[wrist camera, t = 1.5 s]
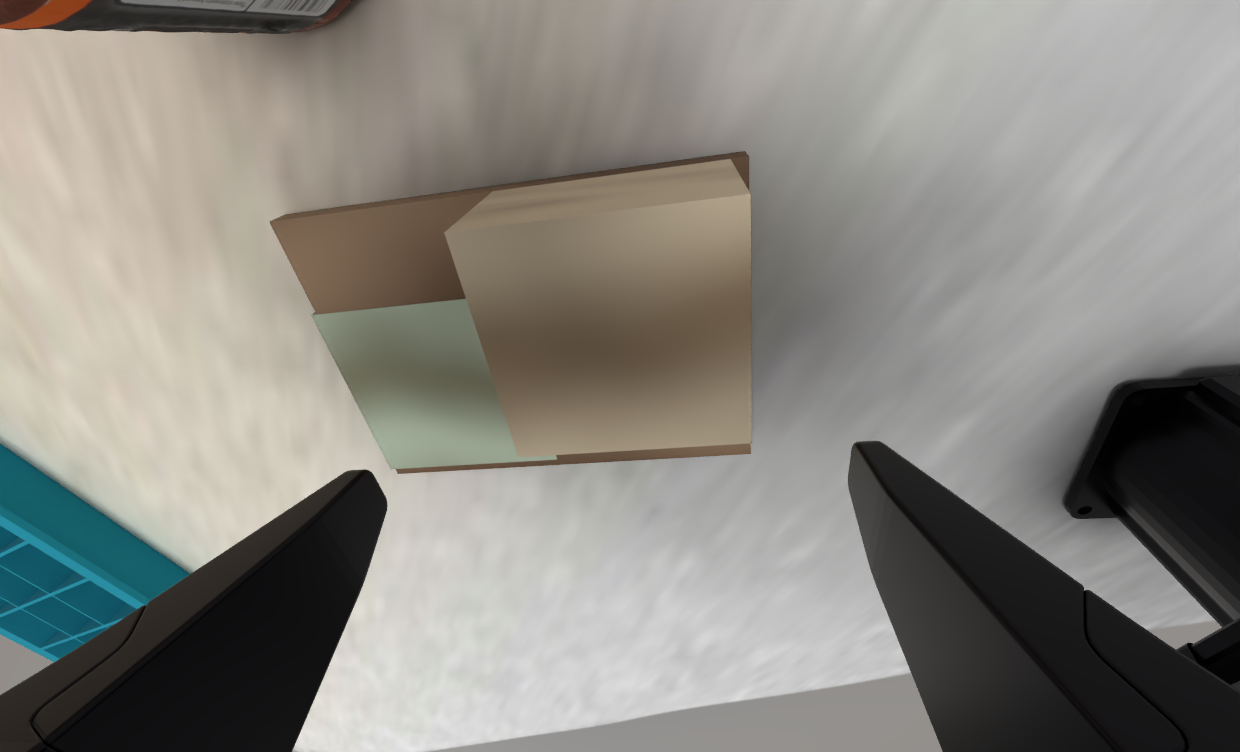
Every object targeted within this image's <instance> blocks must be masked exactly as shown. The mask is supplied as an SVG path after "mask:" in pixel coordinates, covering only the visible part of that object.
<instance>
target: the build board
mask: <svg viewBox="0 0 1240 752" xmlns="http://www.w3.org/2000/svg"><path fill="white" fill-rule="evenodd" d="M726 159H731V161H732V162H733V164H734V166H735V168H736V169H737V171H738V173H739V175H740V176H741V178H742V180H743V182H744V183H745V185H746V187H747V188H748V190H749V156H748V155H747V153H746V152H745V151H744V152H737V153H730V154H722V155H715V156H708V157H701V158H693V159H686V160H679V161H672V162H664V163H657V164H650V165H643V166H635V167H628V168H621V169H614V170H606V171H599V172H592V173H585V174H577V175H570V176H563V177H556V178H548V179H541V180H534V181H527V182H519V183H512V184H505V185H498V186H490V187H483V188H476V189H468V190H461V191H454V192H447V193H439V194H432V195H425V196H418V197H410V198H403V199H396V200H389V201H381V202H374V203H367V204H360V205H352V206H345V207H338V208H331V209H323V210H316V211H309V212H302V213H294V214H287V215H283V216H281V217H279V218H277V219H274V220H272V221H270V224H271V226H272V228H273V230H274V232H275V234H276V236H277V238H278V240H279V242H280V244H281V246H282V248H283V249H284V251H285V253H286V255H287V257H288V259H289V261H290V263H291V265H292V267H293V269H294V271H295V273H296V275H297V277H298V279H299V281H300V283H301V285H302V287H303V289H304V291H305V293H306V295H307V296H308V298H309V300H310V302H311V304H312V306H313V308H314V310H315V313H314V314H312V315H311V316H312V318H313V320H314V322H315V323H316V325H317V327H318V329H319V331H320V333H321V335H322V337H323V339H324V341H325V343H326V345H327V347H328V349H329V351H330V352H331V354H332V356H333V358H334V360H335V362H336V364H337V366H338V368H339V370H340V372H341V374H342V376H343V378H344V380H345V381H346V383H347V385H348V387H349V389H350V391H351V393H352V395H353V397H354V399H355V401H356V403H357V405H358V407H359V409H360V410H361V412H362V414H363V416H364V418H365V420H366V422H367V424H368V426H369V428H370V430H371V432H372V434H373V436H374V438H375V439H376V441H377V443H378V445H379V447H380V449H381V451H382V453H383V455H384V457H385V459H386V461H387V463H388V465H389V467H390V468H391V469H396V471H397V473H398V474H403V473H420V472H438V471H456V470H473V469H491V468H508V467H526V466H544V465H561V464H579V463H596V462H614V461H631V460H649V459H667V458H684V457H702V456H719V455H737V454H751V443H750V444H733V445H716V446H699V447H683V448H666V449H649V450H632V451H615V452H599V453H582V454H565V455H548V456H532V457H518V454H517V451H516V448H515V445H514V442H513V439H512V436H511V433H510V430H509V427H508V424H507V421H506V418H505V415H504V412H503V409H502V406H501V403H500V400H499V397H498V394H497V391H496V388H495V385H494V382H493V379H492V376H491V373H490V370H489V367H488V364H487V361H486V358H485V355H484V352H483V348H482V345H481V342H480V339H479V336H478V333H477V330H476V327H475V324H474V321H473V318H472V315H471V312H470V309H469V306H468V303H467V300H466V297H465V294H464V291H463V288H462V285H461V282H460V279H459V276H458V273H457V270H456V267H455V264H454V261H453V258H452V255H451V252H450V249H449V246H448V243H447V240H446V237H445V234H444V232H445V231H447V230H448V229H449V228H450V227H451V226H452V225H454V224H455V223H456V222H457V221H458V220H459V219H461V218H462V217H463V216H464V215H465V214H467V213H468V212H469V211H470V210H471V209H472V208H474V207H475V206H476V205H477V204H478V203H479V202H481V201H482V200H483V199H484V198H485V197H487V196H488V195H489V194H490V193H491V192H492V191H499V190H506V189H513V188H521V187H528V186H535V185H543V184H550V183H557V182H565V181H572V180H579V179H587V178H594V177H601V176H609V175H616V174H623V173H631V172H638V171H645V170H653V169H660V168H667V167H675V166H682V165H689V164H697V163H704V162H711V161H719V160H726Z"/></svg>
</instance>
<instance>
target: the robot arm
mask: <svg viewBox="0 0 1240 752" xmlns="http://www.w3.org/2000/svg"><path fill="white" fill-rule="evenodd" d="M848 486H849V492H850V495H851V499H852V503H853V506H854V510H855V514H856V518H857V521H858V525H859V529H860V533H861V536H862V540H863V544H864V547H865V551H866V555H867V559H868V562H869V565H870V569H871V572H872V575H873V578H874V580H875V583H876V586H877V588H878V591H879V593H880V596H881V598H882V601H883V603H884V606H885V608H886V611H887V613H888V616H889V618H890V621H891V623H892V626H893V628H894V631H895V633H896V636H897V638H898V641H899V643H900V646H901V648H902V651H903V653H904V656H905V658H906V661H907V663H908V666H909V668H910V671H911V673H912V676H913V678H914V680H915V683H916V686H917V688H918V691H919V693H920V696H921V698H922V701H923V703H924V706H925V708H926V711H927V713H928V716H929V718H930V721H931V723H932V725H933V728H934V731H935V733H936V736H937V738H938V741H939V743H940V745H941V748H942V751H943V752H1240V375H1230V376H1215V377H1206V378H1192V379H1177V380H1163V381H1148V382H1135V383H1130V384H1128V385H1125V386H1123V387H1122V388H1121V389H1119V390H1118V391H1117V392H1116V394H1115V395H1114V397H1113V400H1112V402H1111V404H1110V406H1109V408H1108V411H1107V413H1106V415H1105V417H1104V419H1103V421H1102V424H1101V426H1100V428H1099V430H1098V432H1097V434H1096V437H1095V439H1094V441H1093V443H1092V445H1091V447H1090V450H1089V452H1088V454H1087V456H1086V458H1085V460H1084V463H1083V465H1082V467H1081V469H1080V471H1079V473H1078V476H1077V478H1076V480H1075V482H1074V484H1073V487H1072V489H1071V491H1070V493H1069V495H1068V497H1067V500H1066V502H1065V505H1064V507H1065V509H1066V510H1067V511H1068V512H1069V514H1070V515H1071V516H1072V517H1074V518H1077V519H1090V518H1118V519H1119V520H1120V521H1121V522H1122V523H1123V524H1124V525H1125V526H1126V527H1127V528H1128V529H1129V530H1130V531H1131V532H1132V533H1133V535H1134V536H1135V537H1136V538H1137V539H1138V540H1139V541H1140V542H1141V543H1142V544H1143V545H1144V546H1145V547H1146V548H1147V549H1148V550H1149V551H1150V552H1151V553H1152V554H1153V555H1154V556H1155V558H1156V559H1157V560H1158V561H1159V562H1160V563H1161V564H1162V565H1163V566H1164V567H1165V568H1166V569H1167V570H1168V571H1169V572H1170V573H1171V574H1172V575H1173V576H1174V577H1175V578H1176V579H1177V580H1178V582H1179V583H1180V584H1181V585H1182V586H1183V587H1184V588H1185V589H1186V590H1187V591H1188V592H1189V593H1190V594H1191V595H1192V596H1193V597H1194V598H1195V599H1196V600H1197V601H1198V602H1199V603H1200V605H1201V606H1202V607H1203V608H1204V609H1205V610H1206V611H1207V612H1208V613H1209V614H1210V615H1211V616H1212V617H1213V618H1214V619H1215V620H1216V621H1217V622H1218V623H1219V624H1220V625H1221V626H1222V628H1221V629H1219V630H1217V631H1215V632H1213V633H1212V634H1210V635H1208V636H1207V637H1205V638H1203V639H1201V640H1200V641H1198V642H1196V643H1194V644H1192V643H1187V644H1185V645H1183V646H1181V647H1180V648H1178V649H1176V650H1175V649H1174V648H1172V647H1171V646H1169V645H1168V644H1166V643H1165V642H1163V641H1162V640H1160V639H1159V638H1158V637H1156V636H1155V635H1153V634H1152V633H1150V632H1149V631H1147V630H1146V629H1144V628H1143V627H1142V626H1140V625H1139V624H1137V623H1136V622H1134V621H1133V620H1131V619H1130V618H1128V617H1127V616H1126V615H1124V614H1123V613H1121V612H1120V611H1118V610H1117V609H1115V608H1114V607H1113V606H1111V605H1110V604H1108V603H1107V602H1106V601H1104V600H1103V599H1101V598H1100V597H1099V596H1097V595H1096V594H1094V593H1093V592H1092V591H1090V590H1085V591H1084V587H1083V585H1081V584H1080V583H1079V582H1077V581H1076V580H1074V579H1073V578H1072V577H1070V576H1069V575H1067V574H1066V573H1065V572H1063V571H1062V570H1060V569H1059V568H1058V567H1056V566H1055V565H1053V564H1052V563H1051V562H1049V561H1048V560H1046V559H1045V558H1044V557H1042V556H1041V555H1039V554H1038V553H1037V552H1035V551H1034V550H1032V549H1031V548H1030V547H1028V546H1027V545H1025V544H1024V543H1023V542H1021V541H1020V540H1018V539H1017V538H1016V537H1014V536H1013V535H1011V534H1010V533H1008V532H1007V531H1006V530H1004V529H1003V528H1001V527H1000V526H999V525H997V524H996V523H994V522H993V521H992V520H990V519H989V518H987V517H986V516H985V515H983V514H982V513H980V512H979V511H978V510H976V509H975V508H973V507H972V506H971V505H969V504H968V503H966V502H965V501H964V500H962V499H961V498H959V497H958V496H957V495H955V494H954V493H952V492H951V491H950V490H948V489H947V488H945V487H944V486H943V485H941V484H940V483H938V482H937V481H936V480H934V479H933V478H931V477H930V476H929V475H927V474H926V473H924V472H923V471H921V470H920V469H919V468H917V467H916V466H914V465H913V464H912V463H910V462H909V461H907V460H906V459H905V458H903V457H902V456H900V455H899V454H898V453H896V452H895V451H893V450H892V449H891V448H889V447H888V446H886V445H885V444H884V443H882V442H880V441H862V442H856V443H854V444H853V447H852V450H851V458H850V465H849V473H848ZM386 512H387V499H386V497H385V495H384V493H383V491H382V489H381V488H380V486H379V484H378V482H377V480H376V478H375V477H374V475H373V473H372V472H370V471H369V470H350V471H347V472H345V473H343V474H342V475H340V476H338V477H337V478H335V479H334V480H332V481H331V482H329V483H328V484H326V485H325V486H323V487H322V488H320V489H319V490H317V491H316V492H314V493H313V494H311V495H310V496H308V497H307V498H305V499H304V500H302V501H301V502H299V503H298V504H296V505H295V506H293V507H292V508H290V509H288V510H287V511H285V512H284V513H282V514H281V515H279V516H278V517H276V518H275V519H273V520H272V521H270V522H269V523H267V524H266V525H264V526H263V527H261V528H260V529H258V530H257V531H255V532H254V533H252V534H251V535H249V536H248V537H246V538H245V539H243V540H242V541H240V542H238V543H237V544H235V545H234V546H232V547H231V548H229V549H228V550H226V551H225V552H223V553H222V554H220V555H219V556H217V557H216V558H214V559H213V560H211V561H210V562H208V563H207V564H205V565H204V566H202V567H201V568H199V569H198V570H196V571H195V572H193V573H192V574H190V575H188V576H187V577H185V578H184V579H182V580H181V581H179V582H178V583H176V584H175V585H173V586H172V587H170V588H169V589H167V590H166V591H164V592H163V593H161V594H160V595H158V596H157V597H155V598H154V599H152V600H151V601H149V602H148V604H147V605H143V606H141V607H140V608H138V609H137V610H135V611H134V612H132V613H131V614H129V615H128V616H126V617H125V618H123V619H122V620H120V621H119V622H117V623H116V624H114V625H112V626H111V627H109V628H108V629H106V630H105V631H103V632H102V633H100V634H98V635H97V636H95V637H94V638H92V639H91V640H89V641H88V642H86V643H85V644H83V645H81V646H80V647H78V648H77V649H75V650H73V651H72V652H70V653H69V654H67V655H65V656H64V657H62V658H60V659H59V660H57V661H56V662H54V663H52V664H51V665H49V666H47V667H46V668H44V669H43V670H41V671H39V672H38V673H36V674H34V675H33V676H31V677H29V678H28V679H26V680H25V681H23V682H21V683H20V684H18V685H16V686H15V687H13V688H11V689H10V690H8V691H6V692H5V693H3V694H1V695H0V752H292V750H293V748H294V746H295V743H296V741H297V739H298V736H299V734H300V732H301V729H302V727H303V725H304V722H305V720H306V718H307V715H308V713H309V711H310V708H311V706H312V704H313V701H314V699H315V696H316V694H317V692H318V689H319V687H320V685H321V682H322V680H323V678H324V675H325V673H326V671H327V668H328V666H329V664H330V661H331V659H332V657H333V654H334V652H335V650H336V647H337V645H338V643H339V640H340V638H341V636H342V633H343V631H344V629H345V626H346V624H347V622H348V619H349V617H350V615H351V612H352V610H353V608H354V605H355V603H356V601H357V598H358V596H359V593H360V591H361V588H362V586H363V583H364V581H365V578H366V575H367V572H368V569H369V566H370V563H371V559H372V556H373V553H374V550H375V547H376V544H377V540H378V537H379V534H380V531H381V528H382V525H383V521H384V518H385V515H386Z"/></svg>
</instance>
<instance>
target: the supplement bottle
mask: <svg viewBox="0 0 1240 752" xmlns="http://www.w3.org/2000/svg"><path fill="white" fill-rule="evenodd" d="M350 2H351V0H0V28H3V29H12V30H28V29H55V30H63V31H75V30H89V31H110V30H113V31H131V32H137V31H157V32H212V33H238V32H241V33H248V34H253V33H270V34H283V33H291V32H298V31H304V30H309V29H314V28H318V27H320V26H322V25H324V24H326V23H328V22H330V21H332V20H333V19H335V18H336V17H337V16H338V15H339V14H340V13H341V12H342V11H343V10H344V9H345V8H346V7H347V6H348V4H349V3H350Z"/></svg>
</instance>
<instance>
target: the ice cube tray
mask: <svg viewBox="0 0 1240 752" xmlns="http://www.w3.org/2000/svg"><path fill="white" fill-rule="evenodd" d="M188 575H190V574H189V573H188V572H186V571H185V570H184V569H182V568H181V567H179V566H178V565H176V564H175V563H173V562H172V561H170V560H169V559H167V558H166V557H165V556H163V555H162V554H160V553H159V552H157V551H156V550H154V549H153V548H151V547H150V546H149V545H147V544H146V543H144V542H143V541H141V540H140V539H138V538H137V537H135V536H134V535H132V534H131V533H130V532H128V531H127V530H125V529H124V528H122V527H121V526H119V525H118V524H116V523H115V522H113V521H112V520H111V519H109V518H108V517H106V516H105V515H103V514H102V513H100V512H99V511H97V510H96V509H95V508H93V507H92V506H90V505H89V504H87V503H86V502H84V501H83V500H81V499H80V498H78V497H77V496H76V495H74V494H73V493H71V492H70V491H68V490H67V489H65V488H64V487H62V486H61V485H59V484H58V483H57V482H55V481H54V480H52V479H51V478H49V477H48V476H46V475H45V474H43V473H42V472H41V471H39V470H38V469H36V468H35V467H33V466H32V465H30V464H29V463H27V462H26V461H24V460H23V459H22V458H20V457H19V456H17V455H16V454H14V453H13V452H11V451H10V450H8V449H7V448H5V447H4V446H3V445H1V444H0V634H1V635H3V636H5V637H7V638H9V639H10V640H13V641H14V642H16V643H18V644H20V645H22V646H24V647H26V648H28V649H30V650H32V651H34V652H36V653H38V654H39V655H42V656H44V657H46V658H47V659H49V660H51V661H53V662H56V661H57V660H59V659H60V658H62V657H64V656H65V655H67V654H69V653H70V652H72V651H73V650H75V649H77V648H78V647H80V646H81V645H83V644H85V643H86V642H88V641H89V640H91V639H92V638H94V637H95V636H97V635H98V634H100V633H102V632H103V631H105V630H106V629H108V628H109V627H111V626H112V625H114V624H116V623H117V622H119V621H120V620H122V619H123V618H125V617H126V616H128V615H129V614H131V613H132V612H134V611H135V610H137V609H138V608H140V607H141V606H143V605H147V604H148V602H149V601H151V600H152V599H154V598H155V597H157V596H158V595H160V594H161V593H163V592H164V591H166V590H167V589H169V588H170V587H172V586H173V585H175V584H176V583H178V582H179V581H181V580H182V579H184V578H185V577H187V576H188Z"/></svg>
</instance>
